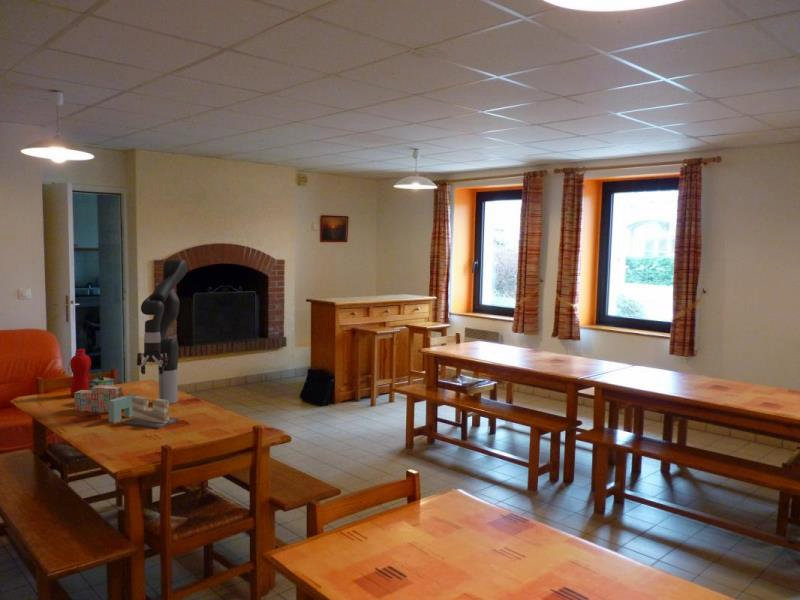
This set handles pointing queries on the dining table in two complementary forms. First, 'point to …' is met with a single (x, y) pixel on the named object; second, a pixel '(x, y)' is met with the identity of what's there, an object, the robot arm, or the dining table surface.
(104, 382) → the chalk box
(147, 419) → the stand
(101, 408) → the stack of blocks
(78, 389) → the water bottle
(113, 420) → the sage crossbar
